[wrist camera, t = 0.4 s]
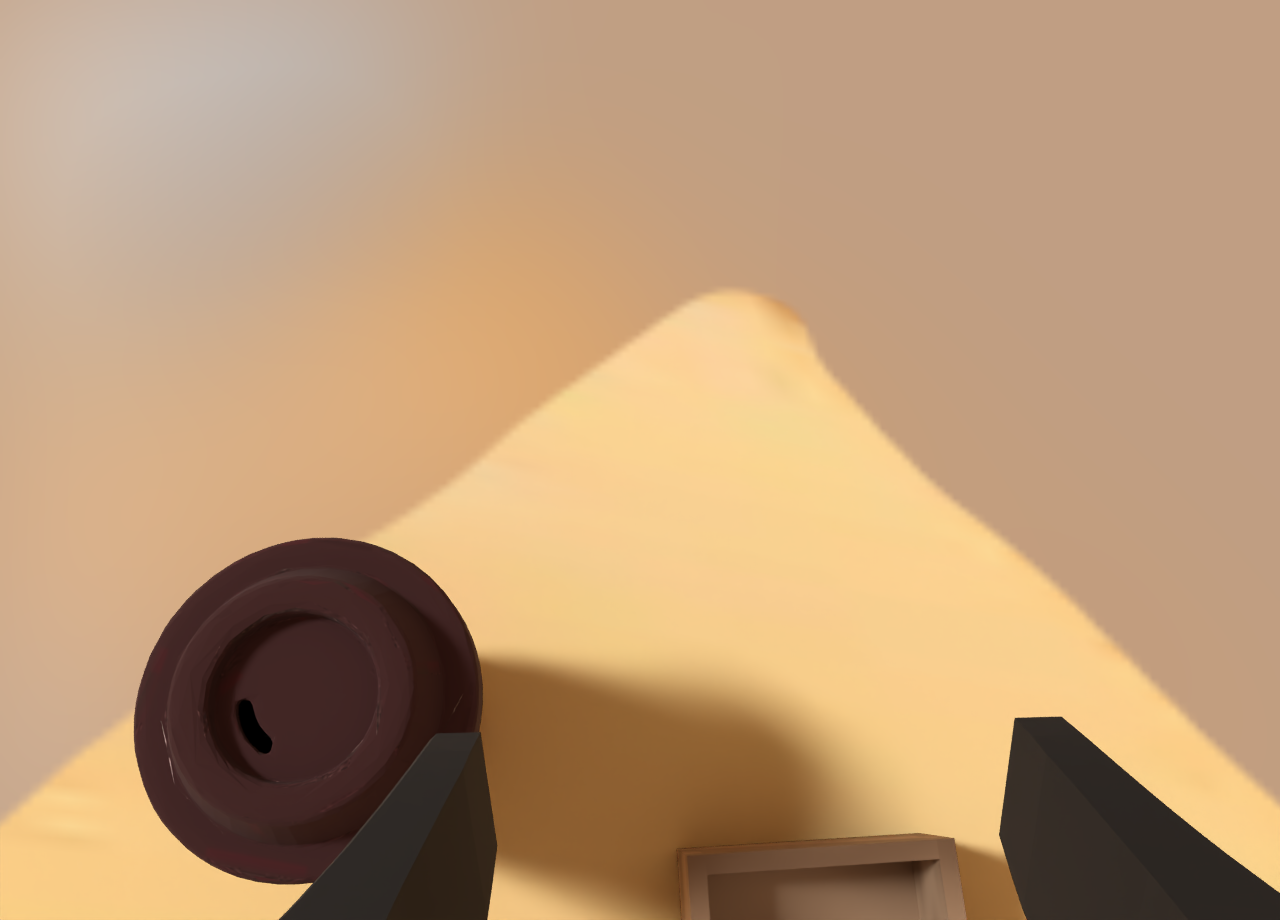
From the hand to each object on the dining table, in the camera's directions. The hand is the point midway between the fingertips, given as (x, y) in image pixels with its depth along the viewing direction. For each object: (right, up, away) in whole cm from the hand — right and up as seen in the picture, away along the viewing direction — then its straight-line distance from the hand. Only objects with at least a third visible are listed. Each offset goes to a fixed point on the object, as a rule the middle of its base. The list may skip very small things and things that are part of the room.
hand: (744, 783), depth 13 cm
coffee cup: (-12, -7, +27) cm, 31 cm away
